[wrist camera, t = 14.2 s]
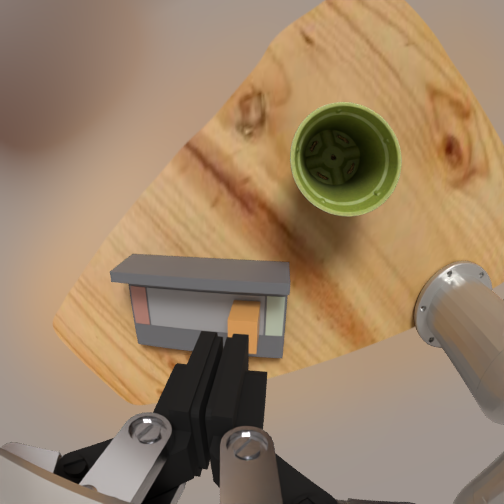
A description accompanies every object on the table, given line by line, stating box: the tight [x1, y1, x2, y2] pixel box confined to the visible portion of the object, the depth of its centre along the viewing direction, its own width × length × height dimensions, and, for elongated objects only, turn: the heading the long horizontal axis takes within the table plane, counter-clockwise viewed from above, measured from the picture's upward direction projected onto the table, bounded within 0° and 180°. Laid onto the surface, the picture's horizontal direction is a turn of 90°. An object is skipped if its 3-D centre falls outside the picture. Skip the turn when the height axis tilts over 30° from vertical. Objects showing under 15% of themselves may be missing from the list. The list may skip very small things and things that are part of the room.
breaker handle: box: [228, 300, 260, 354], centre depth 34 cm, size 3×4×4 cm
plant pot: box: [290, 102, 402, 216], centre depth 28 cm, size 9×9×9 cm
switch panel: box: [110, 254, 290, 358], centre depth 36 cm, size 19×12×6 cm, turn 89°
